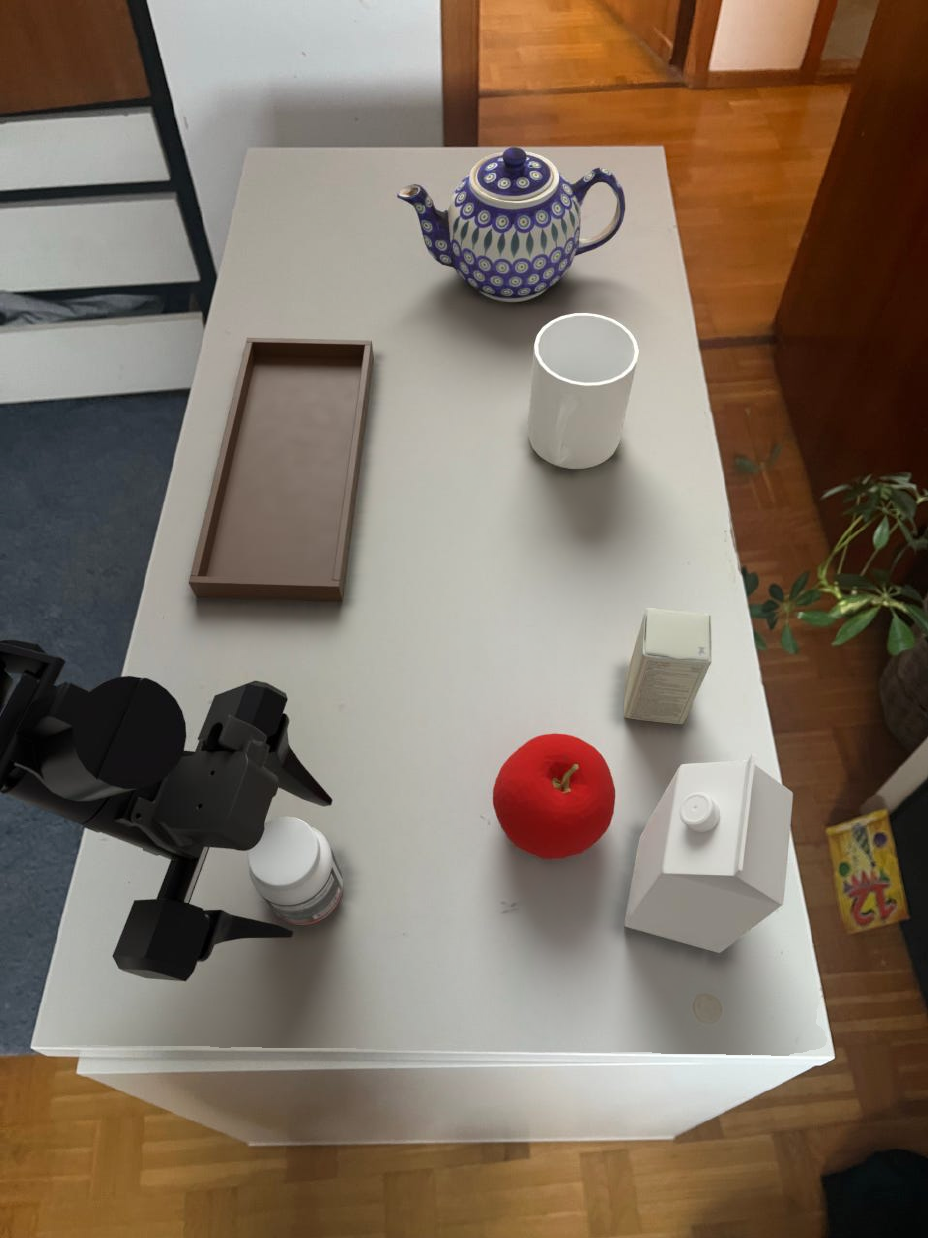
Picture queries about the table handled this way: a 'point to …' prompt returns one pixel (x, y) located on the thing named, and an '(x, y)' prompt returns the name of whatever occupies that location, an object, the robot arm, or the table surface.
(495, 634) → the table surface
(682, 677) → the box
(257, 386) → the tray
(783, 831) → the milk carton
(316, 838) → the pill bottle
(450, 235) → the teapot
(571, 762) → the fruit
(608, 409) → the mug
